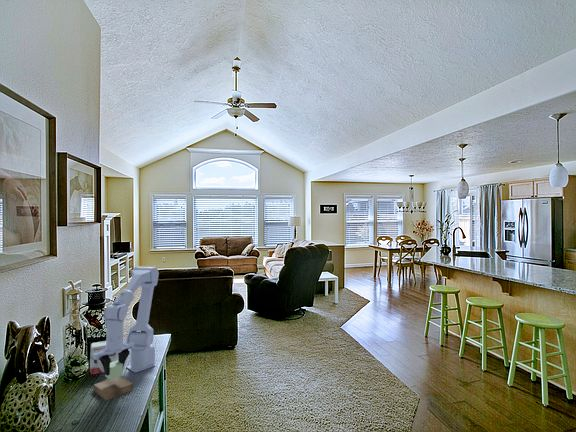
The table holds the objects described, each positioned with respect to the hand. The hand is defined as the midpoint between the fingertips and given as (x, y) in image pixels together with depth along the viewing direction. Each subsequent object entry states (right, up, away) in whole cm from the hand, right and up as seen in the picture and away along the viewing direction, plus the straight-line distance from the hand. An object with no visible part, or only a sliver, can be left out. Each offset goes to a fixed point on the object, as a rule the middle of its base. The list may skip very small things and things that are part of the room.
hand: (113, 372), depth 128 cm
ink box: (-13, -7, +16) cm, 22 cm away
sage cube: (0, -1, 0) cm, 1 cm away
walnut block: (0, -8, 0) cm, 8 cm away
